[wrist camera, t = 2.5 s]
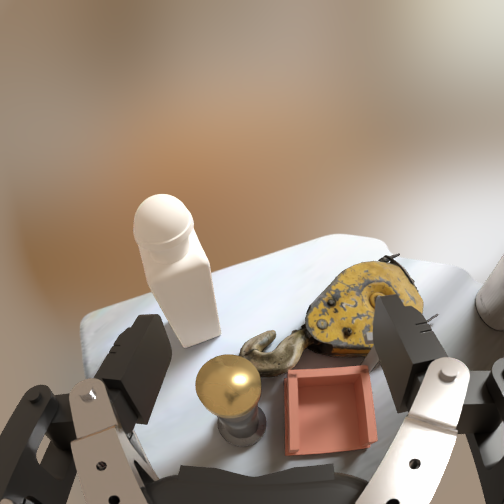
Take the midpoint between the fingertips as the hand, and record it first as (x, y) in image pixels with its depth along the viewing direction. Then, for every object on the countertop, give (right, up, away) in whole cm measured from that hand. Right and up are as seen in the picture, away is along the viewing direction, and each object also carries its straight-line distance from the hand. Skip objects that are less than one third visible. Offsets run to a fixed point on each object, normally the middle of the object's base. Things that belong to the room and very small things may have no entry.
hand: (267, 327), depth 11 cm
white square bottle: (-8, -8, +32) cm, 34 cm away
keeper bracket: (+8, -17, +22) cm, 29 cm away
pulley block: (+12, -8, +31) cm, 34 cm away
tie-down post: (-2, -18, +22) cm, 28 cm away
